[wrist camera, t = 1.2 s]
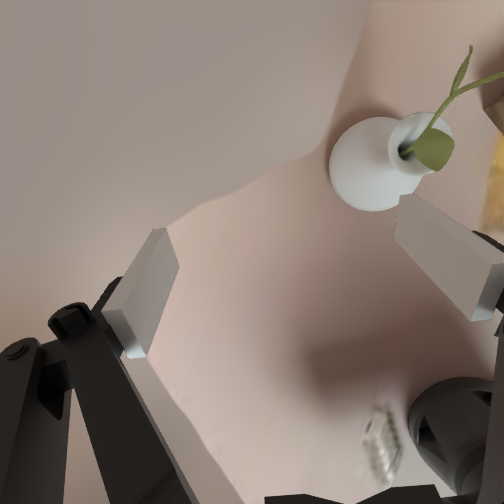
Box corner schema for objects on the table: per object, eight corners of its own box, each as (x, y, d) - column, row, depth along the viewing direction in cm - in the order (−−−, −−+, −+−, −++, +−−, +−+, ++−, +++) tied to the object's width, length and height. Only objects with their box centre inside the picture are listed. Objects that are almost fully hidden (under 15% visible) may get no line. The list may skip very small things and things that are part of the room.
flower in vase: (386, 226, 37) (570, 268, 12) (311, 186, 37) (347, 150, 13) (446, 134, 34) (837, -47, 10) (364, 92, 35) (538, -181, 10)
